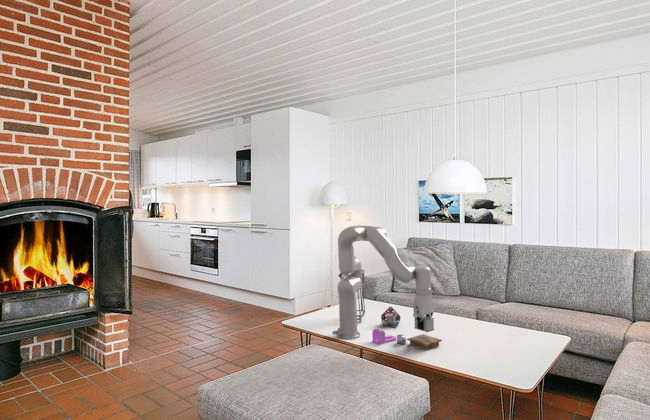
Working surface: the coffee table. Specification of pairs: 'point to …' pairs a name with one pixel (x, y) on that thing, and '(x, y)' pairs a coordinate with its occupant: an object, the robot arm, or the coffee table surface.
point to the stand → (424, 341)
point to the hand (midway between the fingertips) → (424, 327)
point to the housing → (426, 324)
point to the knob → (401, 339)
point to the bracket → (381, 337)
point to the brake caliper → (390, 318)
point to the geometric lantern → (358, 298)
